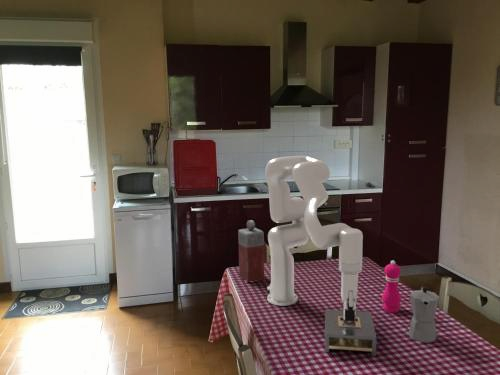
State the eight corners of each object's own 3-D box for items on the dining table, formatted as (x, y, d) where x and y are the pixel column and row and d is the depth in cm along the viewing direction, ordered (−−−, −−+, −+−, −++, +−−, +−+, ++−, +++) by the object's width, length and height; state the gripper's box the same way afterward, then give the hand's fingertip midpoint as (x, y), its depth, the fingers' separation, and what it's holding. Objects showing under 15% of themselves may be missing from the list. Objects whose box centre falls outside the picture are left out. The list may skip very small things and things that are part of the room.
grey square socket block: (325, 326, 162) (325, 308, 161) (370, 328, 160) (370, 311, 159) (325, 352, 145) (325, 333, 144) (375, 356, 142) (376, 336, 141)
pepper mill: (401, 314, 171) (404, 264, 167) (382, 312, 172) (384, 263, 169) (399, 305, 178) (401, 257, 174) (380, 304, 179) (382, 257, 176)
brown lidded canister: (268, 278, 208) (268, 220, 203) (247, 283, 203) (246, 223, 199) (259, 272, 216) (259, 216, 211) (239, 276, 211) (237, 219, 206)
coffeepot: (439, 347, 146) (442, 296, 143) (408, 343, 149) (411, 293, 146) (434, 326, 161) (437, 278, 158) (407, 322, 164) (409, 276, 161)
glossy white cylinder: (339, 334, 153) (340, 296, 150) (348, 331, 155) (349, 293, 153) (349, 339, 149) (350, 300, 147) (358, 335, 152) (359, 297, 149)
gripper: (338, 257, 156) (337, 306, 160) (339, 274, 140) (338, 328, 143) (360, 257, 155) (358, 307, 158) (364, 275, 139) (362, 329, 142)
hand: (349, 316), depth 151 cm, fingers closed on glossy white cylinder, 4 cm apart
